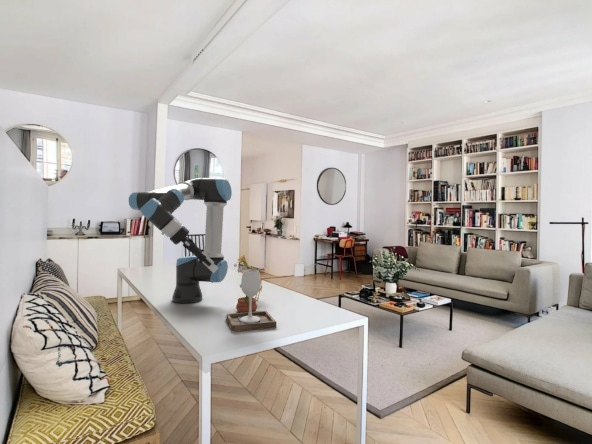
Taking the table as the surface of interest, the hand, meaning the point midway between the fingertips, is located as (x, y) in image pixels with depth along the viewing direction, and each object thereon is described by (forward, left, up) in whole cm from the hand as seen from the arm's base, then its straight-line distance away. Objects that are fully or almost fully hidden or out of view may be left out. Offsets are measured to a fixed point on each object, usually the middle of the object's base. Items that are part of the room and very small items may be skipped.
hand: (213, 267), depth 140 cm
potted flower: (-15, +16, -24) cm, 33 cm away
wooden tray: (+3, +15, -24) cm, 29 cm away
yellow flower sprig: (-32, +22, -24) cm, 46 cm away
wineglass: (+3, +15, -23) cm, 27 cm away
